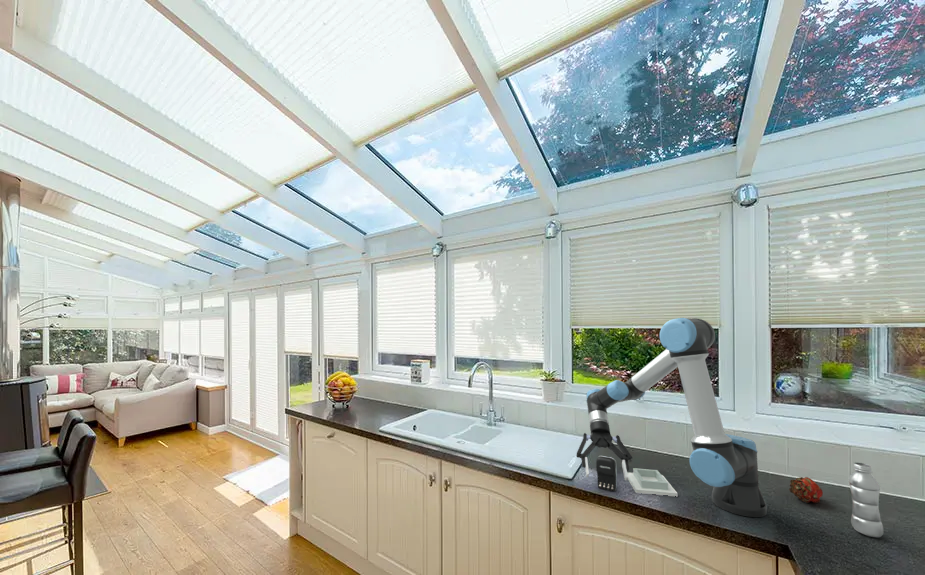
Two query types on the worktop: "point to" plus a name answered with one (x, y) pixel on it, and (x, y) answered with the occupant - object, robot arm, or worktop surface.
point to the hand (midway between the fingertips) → (606, 477)
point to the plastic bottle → (865, 501)
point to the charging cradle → (650, 482)
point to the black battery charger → (606, 473)
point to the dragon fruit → (806, 489)
